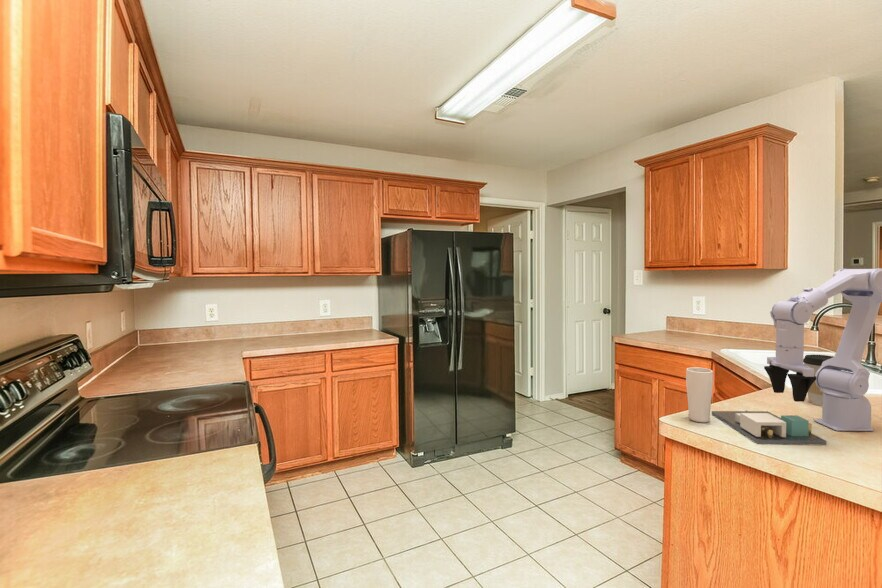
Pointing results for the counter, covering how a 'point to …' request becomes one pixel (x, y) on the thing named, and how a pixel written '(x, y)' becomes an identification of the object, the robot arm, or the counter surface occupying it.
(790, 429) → the block
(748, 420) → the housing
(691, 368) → the drinking glass
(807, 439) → the base plate
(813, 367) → the coffee cup
